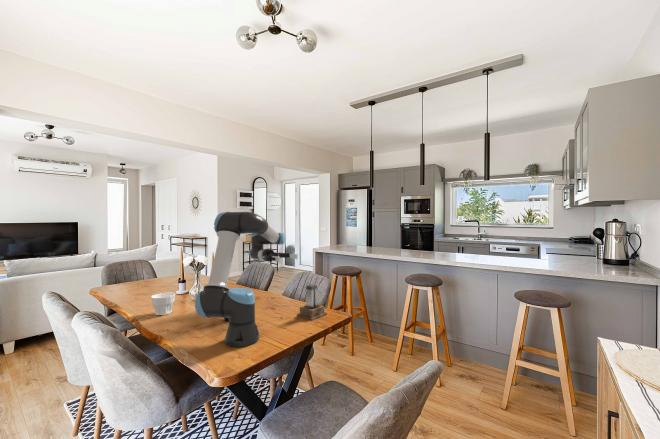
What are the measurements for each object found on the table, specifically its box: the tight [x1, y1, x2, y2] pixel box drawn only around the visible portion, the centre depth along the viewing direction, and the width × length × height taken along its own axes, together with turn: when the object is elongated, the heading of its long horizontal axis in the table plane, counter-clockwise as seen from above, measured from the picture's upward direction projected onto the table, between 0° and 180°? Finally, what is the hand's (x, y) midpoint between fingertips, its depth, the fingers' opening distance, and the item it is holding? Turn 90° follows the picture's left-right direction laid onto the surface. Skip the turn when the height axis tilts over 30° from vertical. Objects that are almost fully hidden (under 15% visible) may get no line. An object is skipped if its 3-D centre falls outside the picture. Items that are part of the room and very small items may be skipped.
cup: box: [150, 291, 176, 315], centre depth 174 cm, size 12×12×11 cm
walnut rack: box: [296, 303, 328, 321], centre depth 167 cm, size 12×12×5 cm
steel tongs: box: [305, 283, 318, 309], centre depth 168 cm, size 4×6×16 cm
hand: (288, 258), depth 173 cm, fingers open, 13 cm apart
